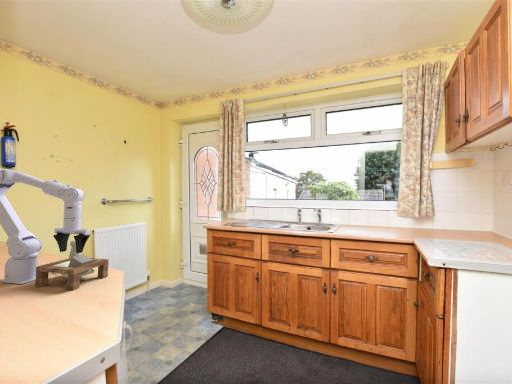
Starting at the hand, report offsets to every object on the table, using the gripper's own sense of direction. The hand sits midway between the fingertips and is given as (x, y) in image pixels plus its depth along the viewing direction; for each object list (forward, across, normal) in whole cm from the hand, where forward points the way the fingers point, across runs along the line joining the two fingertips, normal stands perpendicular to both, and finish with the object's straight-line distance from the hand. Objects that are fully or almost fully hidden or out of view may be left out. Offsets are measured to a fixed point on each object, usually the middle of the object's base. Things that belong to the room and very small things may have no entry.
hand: (71, 252), depth 100 cm
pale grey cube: (+6, +6, -2) cm, 9 cm away
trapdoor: (+6, +3, -2) cm, 8 cm away
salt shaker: (+11, -8, +10) cm, 17 cm away
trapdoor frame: (+10, +4, -2) cm, 11 cm away
